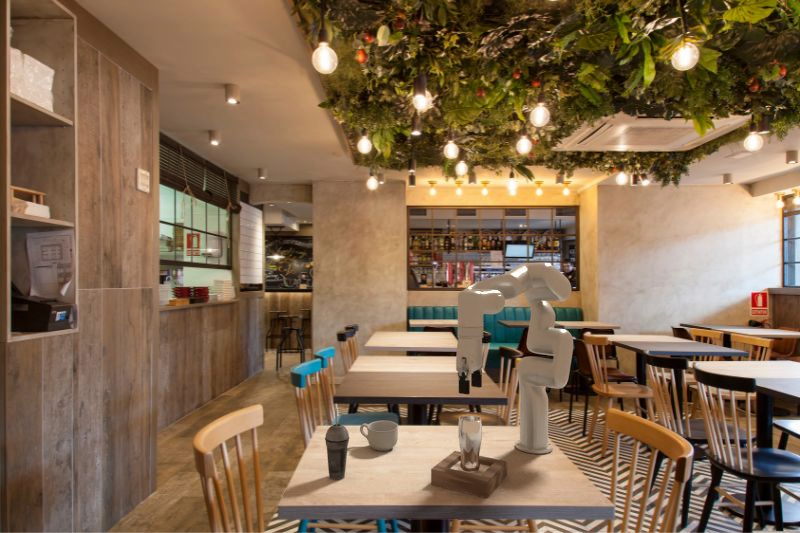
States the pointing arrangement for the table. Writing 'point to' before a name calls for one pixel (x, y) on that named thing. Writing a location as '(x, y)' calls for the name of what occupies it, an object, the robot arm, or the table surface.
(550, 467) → the table surface
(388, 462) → the table surface
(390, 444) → the teacup
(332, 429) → the beverage cup
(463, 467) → the beer glass
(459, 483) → the frame
